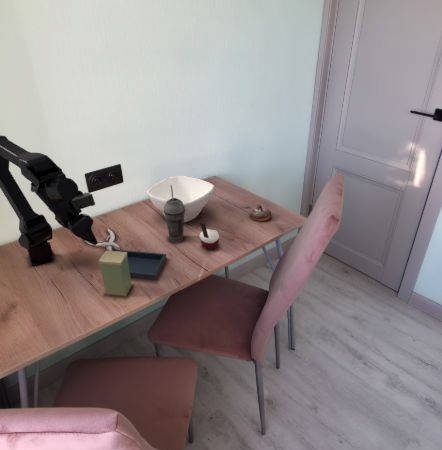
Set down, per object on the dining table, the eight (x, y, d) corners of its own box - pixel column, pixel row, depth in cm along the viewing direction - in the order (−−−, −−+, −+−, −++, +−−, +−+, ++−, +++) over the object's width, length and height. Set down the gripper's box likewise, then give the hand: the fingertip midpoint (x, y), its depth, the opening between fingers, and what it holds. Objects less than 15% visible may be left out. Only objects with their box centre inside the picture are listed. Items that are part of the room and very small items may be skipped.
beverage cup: (170, 246, 137) (166, 193, 127) (163, 236, 143) (158, 185, 132) (190, 241, 140) (187, 188, 129) (182, 231, 146) (178, 180, 135)
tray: (156, 281, 121) (155, 275, 120) (107, 276, 123) (106, 270, 122) (166, 260, 130) (165, 253, 129) (121, 255, 133) (120, 249, 131)
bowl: (222, 211, 159) (221, 184, 152) (188, 236, 143) (187, 207, 137) (177, 198, 169) (175, 172, 163) (141, 220, 153) (138, 192, 147)
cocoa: (212, 238, 141) (212, 208, 135) (225, 245, 138) (225, 214, 131) (192, 249, 136) (190, 218, 129) (204, 256, 132) (204, 225, 126)
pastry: (246, 216, 155) (247, 204, 153) (260, 210, 160) (260, 198, 157) (262, 223, 150) (262, 212, 148) (275, 217, 155) (276, 205, 152)
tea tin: (126, 297, 115) (120, 262, 108) (105, 295, 116) (98, 260, 109) (132, 285, 119) (127, 252, 113) (112, 283, 120) (106, 250, 114)
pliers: (108, 226, 146) (128, 243, 136) (109, 230, 147) (129, 247, 137) (82, 235, 141) (101, 254, 131) (83, 239, 141) (102, 258, 132)
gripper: (89, 186, 106) (124, 229, 114) (69, 178, 121) (101, 217, 129) (55, 213, 103) (93, 255, 111) (39, 202, 117) (74, 240, 126)
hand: (91, 240), depth 119 cm, fingers open, 9 cm apart
